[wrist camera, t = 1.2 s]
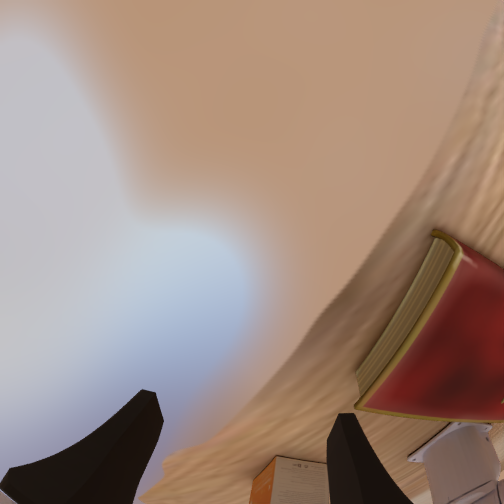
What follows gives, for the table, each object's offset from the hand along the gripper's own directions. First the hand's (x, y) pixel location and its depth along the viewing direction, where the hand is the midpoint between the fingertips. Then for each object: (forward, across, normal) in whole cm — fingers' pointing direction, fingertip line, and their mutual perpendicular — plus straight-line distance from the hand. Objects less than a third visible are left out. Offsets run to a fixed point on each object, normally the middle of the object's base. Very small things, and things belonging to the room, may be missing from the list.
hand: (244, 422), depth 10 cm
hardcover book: (+9, -18, +2) cm, 21 cm away
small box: (+8, -4, +22) cm, 24 cm away
